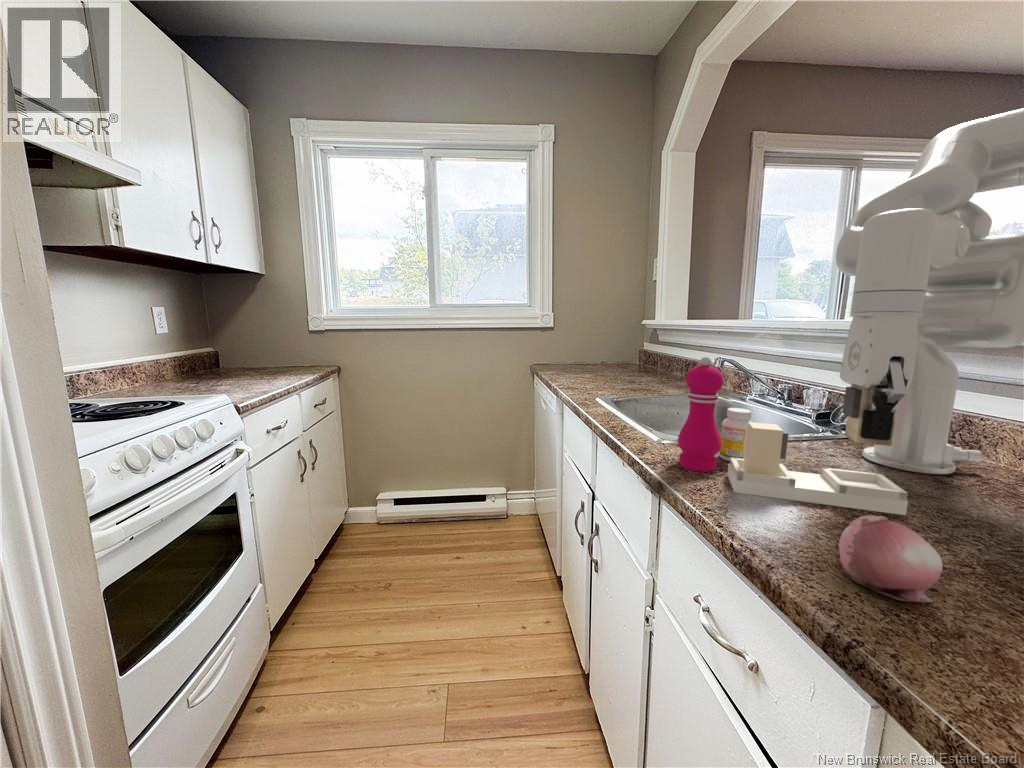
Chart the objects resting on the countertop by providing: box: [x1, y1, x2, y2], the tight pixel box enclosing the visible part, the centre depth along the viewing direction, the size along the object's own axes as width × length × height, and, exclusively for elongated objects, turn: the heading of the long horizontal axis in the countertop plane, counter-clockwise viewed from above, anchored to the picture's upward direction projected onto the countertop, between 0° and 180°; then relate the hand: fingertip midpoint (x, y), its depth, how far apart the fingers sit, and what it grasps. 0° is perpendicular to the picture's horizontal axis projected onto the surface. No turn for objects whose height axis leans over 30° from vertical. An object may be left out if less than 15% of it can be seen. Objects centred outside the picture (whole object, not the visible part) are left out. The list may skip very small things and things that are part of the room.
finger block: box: [842, 385, 898, 446], centre depth 59 cm, size 5×4×8 cm
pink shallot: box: [838, 514, 944, 604], centre depth 41 cm, size 8×8×7 cm
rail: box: [727, 421, 909, 516], centre depth 63 cm, size 21×8×10 cm, turn 70°
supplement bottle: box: [718, 407, 752, 462], centre depth 79 cm, size 5×5×10 cm
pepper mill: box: [677, 356, 724, 473], centre depth 74 cm, size 7×7×20 cm
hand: (867, 433), depth 60 cm, fingers closed on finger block, 4 cm apart
